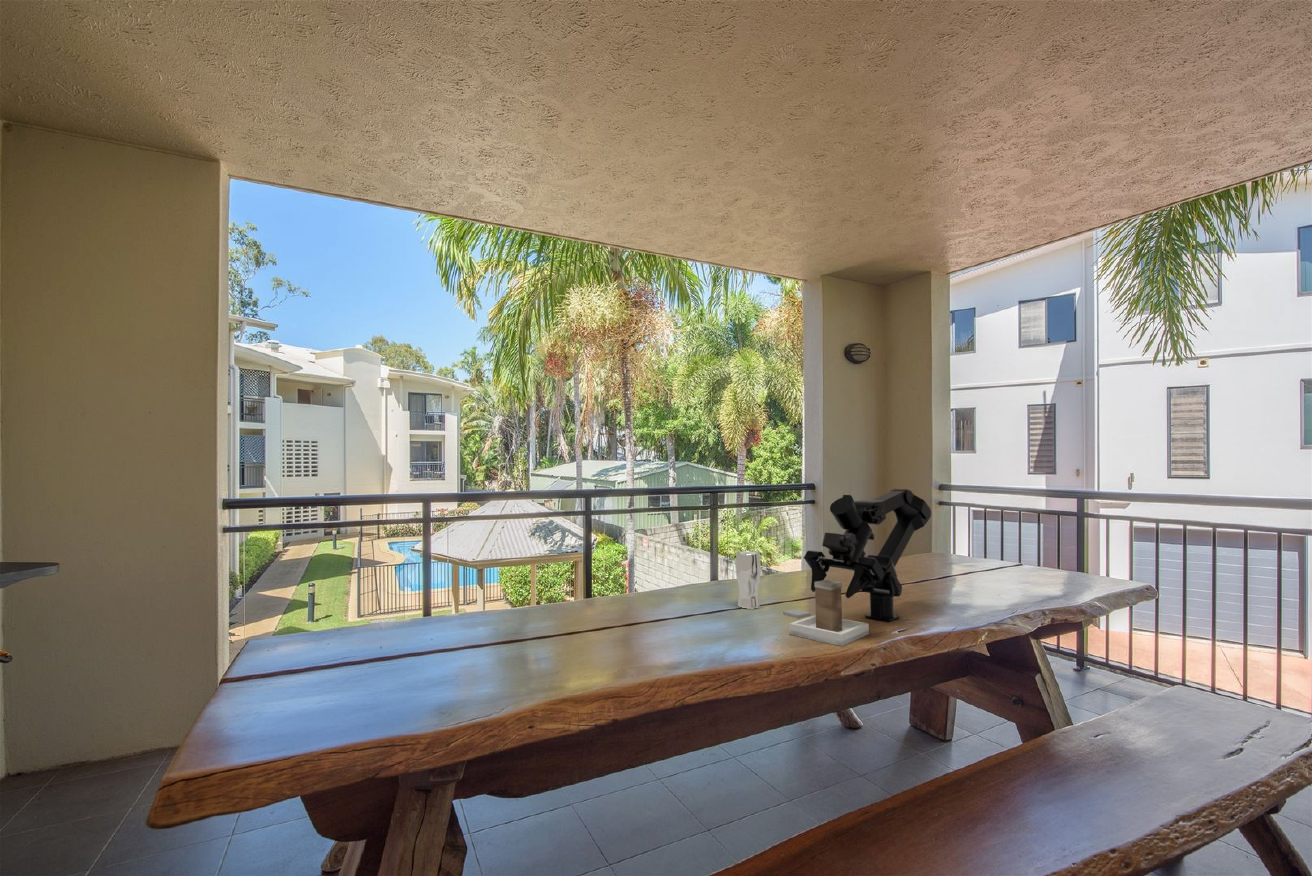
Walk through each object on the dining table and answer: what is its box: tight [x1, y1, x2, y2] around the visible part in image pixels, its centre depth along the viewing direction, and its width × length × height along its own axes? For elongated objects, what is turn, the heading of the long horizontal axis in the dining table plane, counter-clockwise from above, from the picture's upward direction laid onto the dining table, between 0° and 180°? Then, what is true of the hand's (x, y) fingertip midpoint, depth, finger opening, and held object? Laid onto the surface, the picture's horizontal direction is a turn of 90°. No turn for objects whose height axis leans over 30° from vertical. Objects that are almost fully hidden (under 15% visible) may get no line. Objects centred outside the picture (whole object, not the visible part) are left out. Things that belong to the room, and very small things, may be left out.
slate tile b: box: [782, 608, 812, 619], centre depth 151 cm, size 5×5×1 cm
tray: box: [788, 614, 870, 647], centre depth 133 cm, size 13×13×2 cm
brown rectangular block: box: [814, 579, 843, 632], centre depth 133 cm, size 4×4×11 cm
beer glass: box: [735, 550, 762, 610], centre depth 161 cm, size 7×7×15 cm
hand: (829, 593), depth 134 cm, fingers open, 9 cm apart
